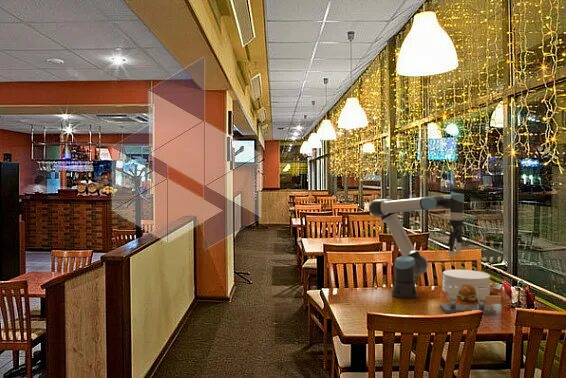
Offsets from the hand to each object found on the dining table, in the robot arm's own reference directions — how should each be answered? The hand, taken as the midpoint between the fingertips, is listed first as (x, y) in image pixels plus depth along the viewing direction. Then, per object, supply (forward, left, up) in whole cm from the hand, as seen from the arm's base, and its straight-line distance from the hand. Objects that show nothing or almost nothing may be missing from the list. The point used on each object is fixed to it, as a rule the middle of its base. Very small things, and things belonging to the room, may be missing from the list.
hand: (454, 255), depth 274 cm
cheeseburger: (+8, 0, -27) cm, 28 cm away
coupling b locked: (+12, -23, -22) cm, 34 cm away
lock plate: (0, -23, -27) cm, 35 cm away
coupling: (-7, -20, -22) cm, 30 cm away
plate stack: (+13, +21, -27) cm, 36 cm away
